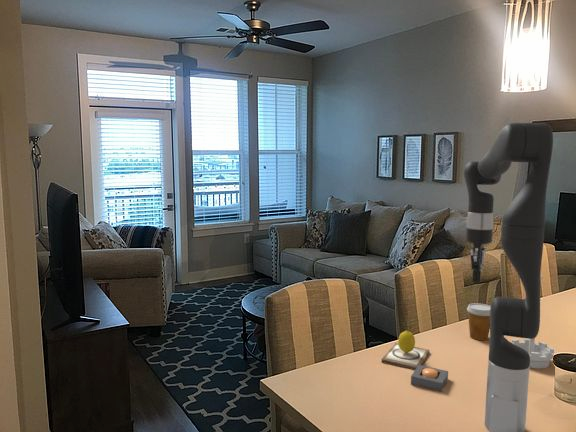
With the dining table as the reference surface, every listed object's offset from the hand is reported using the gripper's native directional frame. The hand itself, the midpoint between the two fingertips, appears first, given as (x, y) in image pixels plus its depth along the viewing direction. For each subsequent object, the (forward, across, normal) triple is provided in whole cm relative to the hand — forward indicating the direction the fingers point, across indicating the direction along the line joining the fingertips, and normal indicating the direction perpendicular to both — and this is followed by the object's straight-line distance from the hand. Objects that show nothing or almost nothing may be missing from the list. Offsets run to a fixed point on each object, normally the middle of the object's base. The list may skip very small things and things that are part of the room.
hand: (476, 282), depth 146 cm
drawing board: (+29, 0, +21) cm, 36 cm away
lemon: (+28, 0, +21) cm, 35 cm away
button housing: (+29, -14, +10) cm, 34 cm away
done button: (+28, -14, +10) cm, 33 cm away
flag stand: (+29, +18, -16) cm, 38 cm away
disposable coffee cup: (+29, +32, +2) cm, 43 cm away
